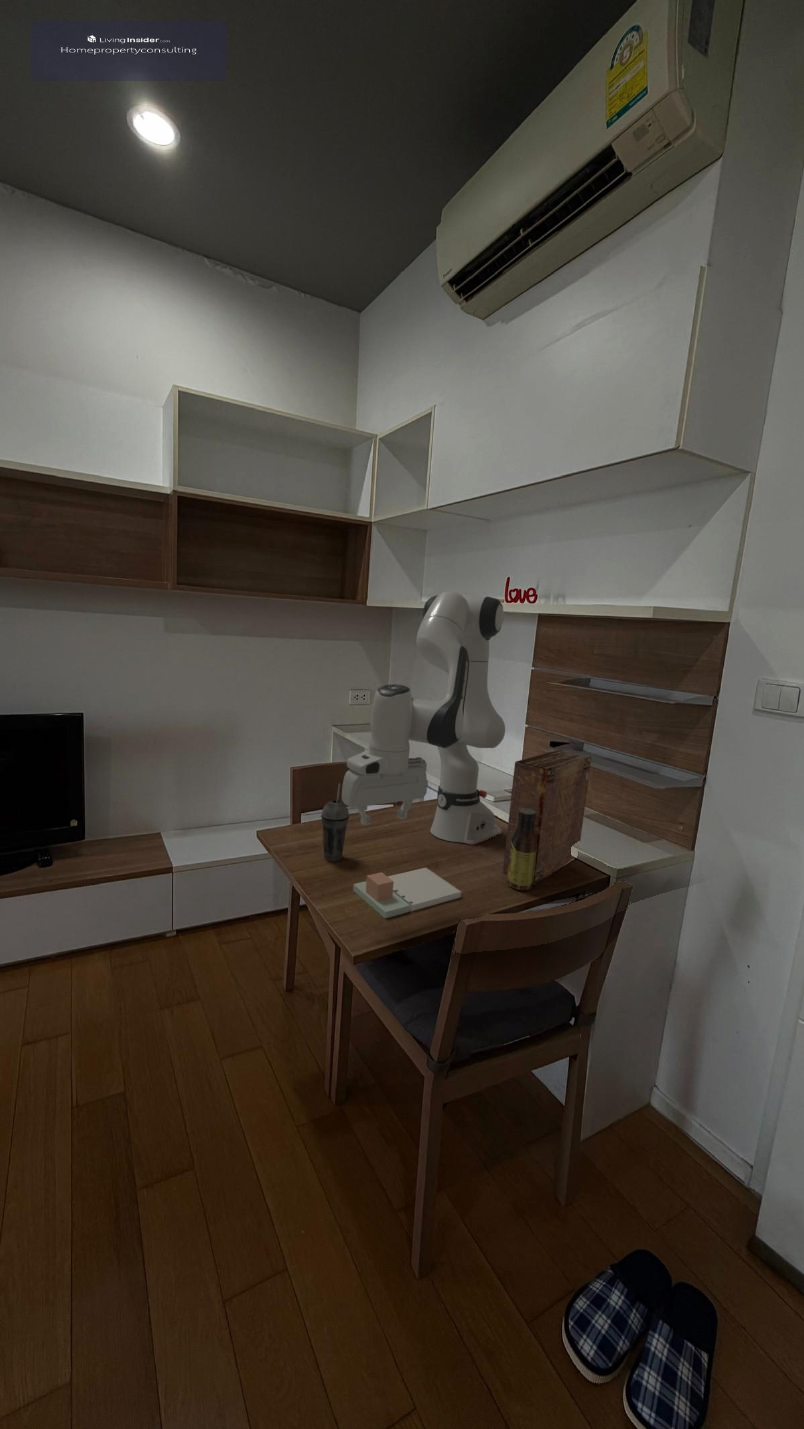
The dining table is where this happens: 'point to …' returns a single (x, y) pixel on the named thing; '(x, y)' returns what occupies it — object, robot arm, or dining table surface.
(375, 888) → the green slab pink block
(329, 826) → the beverage cup
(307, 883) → the dining table surface
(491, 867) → the dining table surface
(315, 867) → the dining table surface
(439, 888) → the board
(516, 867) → the sauce bottle
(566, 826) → the book
